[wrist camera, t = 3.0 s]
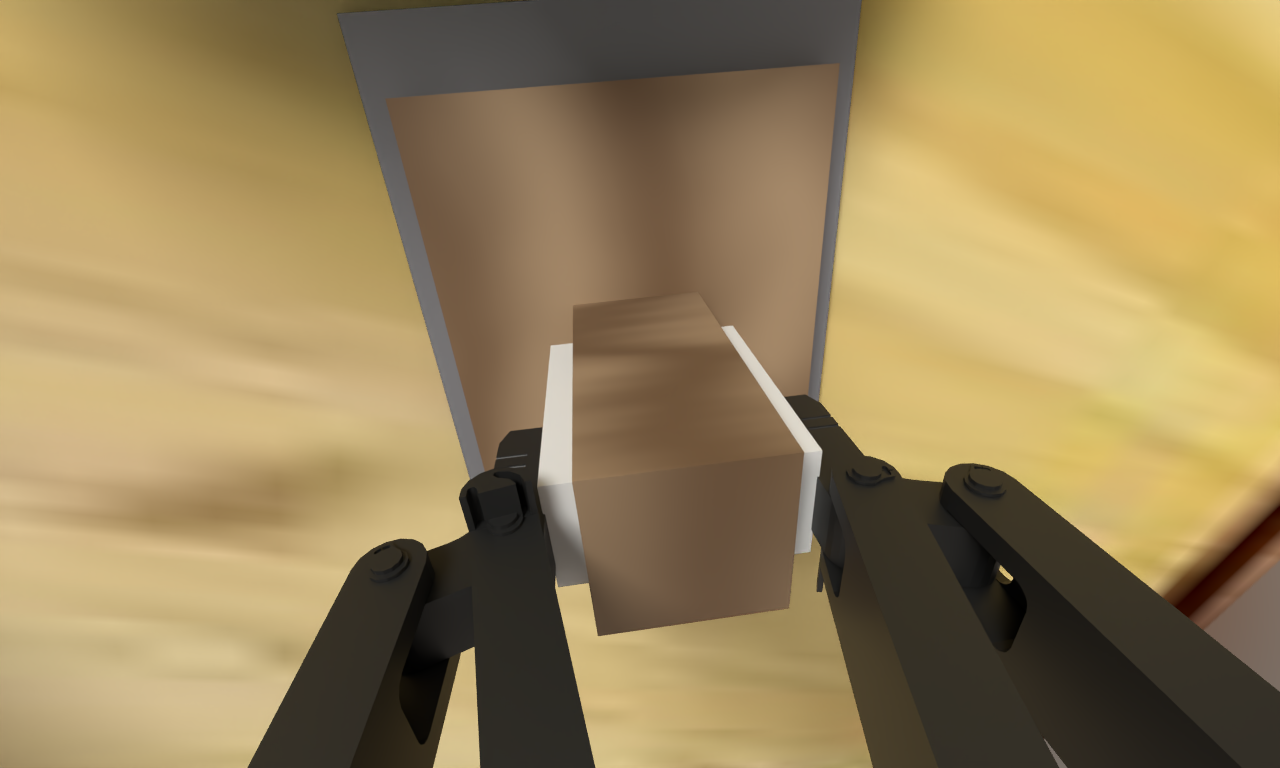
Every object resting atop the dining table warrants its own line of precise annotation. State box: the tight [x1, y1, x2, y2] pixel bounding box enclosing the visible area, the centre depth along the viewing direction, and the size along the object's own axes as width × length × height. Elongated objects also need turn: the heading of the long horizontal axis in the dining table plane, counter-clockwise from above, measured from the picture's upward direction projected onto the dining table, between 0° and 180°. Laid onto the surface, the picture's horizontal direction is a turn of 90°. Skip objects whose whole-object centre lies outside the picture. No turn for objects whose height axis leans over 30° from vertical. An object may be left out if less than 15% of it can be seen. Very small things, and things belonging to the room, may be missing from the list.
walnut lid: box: [385, 63, 840, 636], centre depth 14 cm, size 12×16×10 cm
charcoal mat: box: [337, 0, 862, 480], centre depth 19 cm, size 14×20×1 cm
